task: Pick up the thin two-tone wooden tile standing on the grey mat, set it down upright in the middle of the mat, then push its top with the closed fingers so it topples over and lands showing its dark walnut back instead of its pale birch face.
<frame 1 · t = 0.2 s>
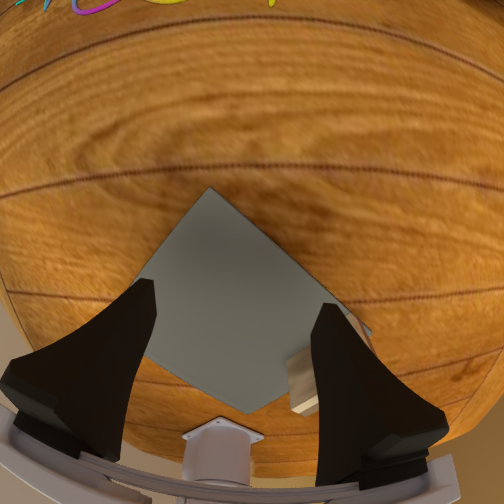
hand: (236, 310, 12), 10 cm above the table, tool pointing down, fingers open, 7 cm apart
mat: (233, 333, 25), on the table
tile: (323, 343, 25), resting on mat
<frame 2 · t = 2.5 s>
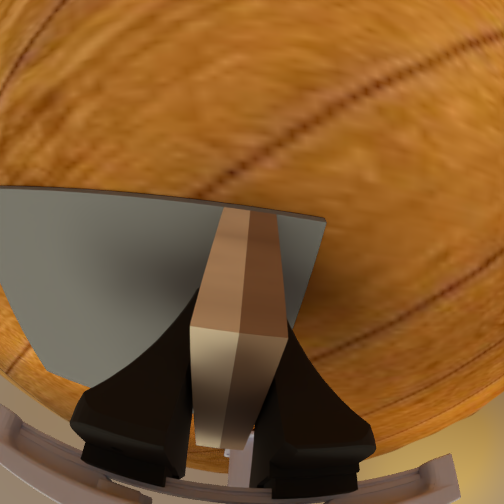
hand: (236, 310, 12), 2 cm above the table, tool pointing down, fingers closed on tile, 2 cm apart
mat: (117, 331, 15), on the table
tile: (238, 291, 13), resting on mat, touching gripper
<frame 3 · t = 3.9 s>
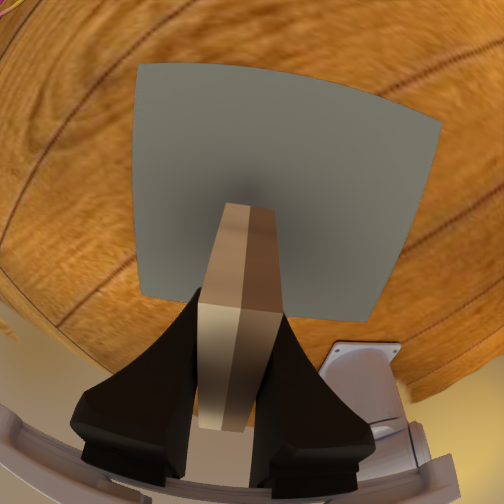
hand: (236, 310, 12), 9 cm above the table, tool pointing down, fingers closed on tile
mat: (278, 210, 19), on the table
tile: (238, 282, 14), point 7 cm above the table, touching gripper
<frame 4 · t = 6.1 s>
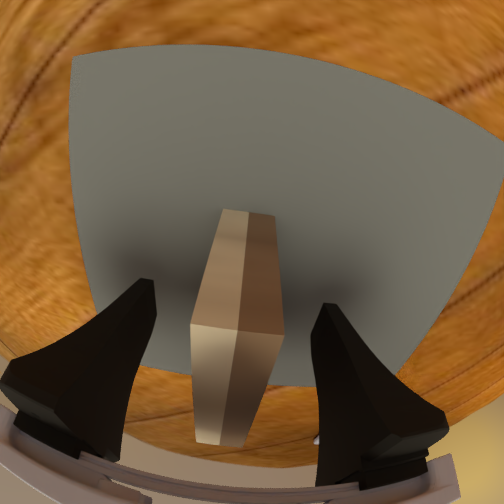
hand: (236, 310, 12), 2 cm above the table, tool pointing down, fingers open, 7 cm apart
mat: (285, 272, 13), on the table
tile: (237, 291, 13), resting on mat
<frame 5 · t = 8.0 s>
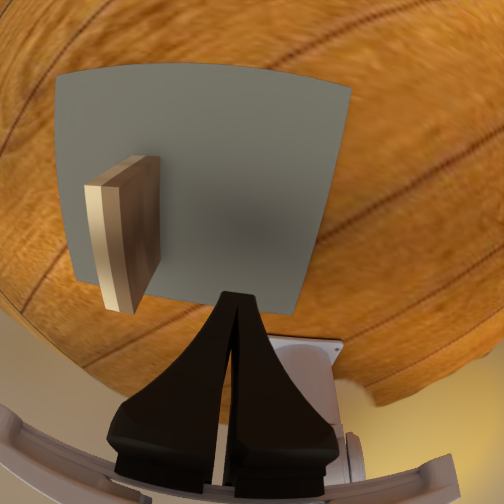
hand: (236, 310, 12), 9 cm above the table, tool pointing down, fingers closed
mat: (175, 196, 18), on the table
tile: (146, 211, 19), resting on mat
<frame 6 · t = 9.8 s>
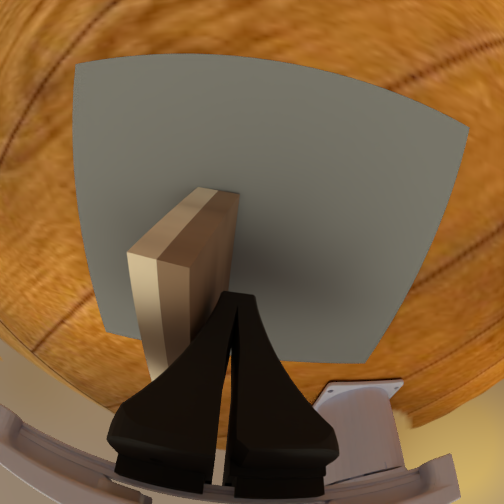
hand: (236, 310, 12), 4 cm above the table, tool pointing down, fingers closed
mat: (254, 243, 15), on the table
tile: (212, 263, 15), point 1 cm above the table, tilted 9°, touching gripper, mat
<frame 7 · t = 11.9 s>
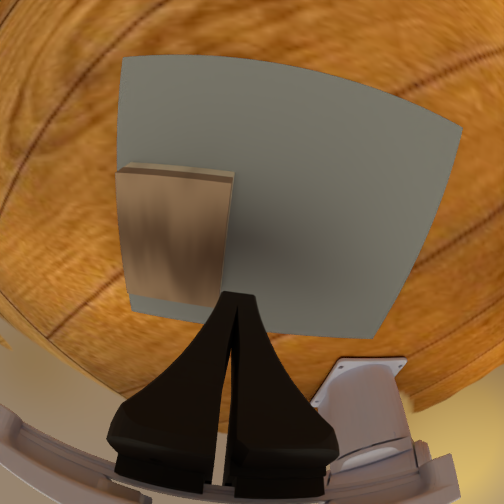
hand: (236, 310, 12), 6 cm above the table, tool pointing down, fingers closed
mat: (281, 223, 17), on the table
tile: (224, 245, 16), point 1 cm above the table, tilted 90°, touching mat
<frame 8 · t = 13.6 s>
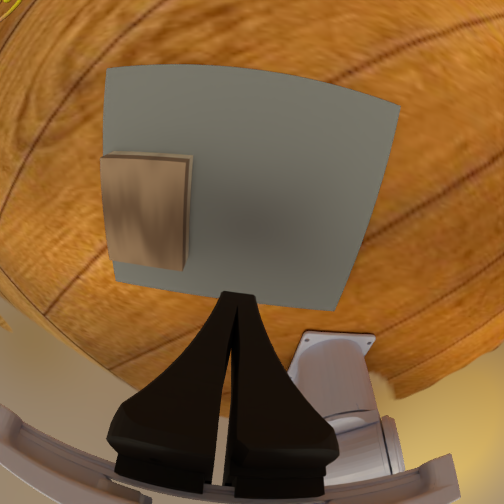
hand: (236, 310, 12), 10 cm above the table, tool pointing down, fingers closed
mat: (234, 198, 19), on the table
tile: (186, 215, 19), point 1 cm above the table, tilted 90°, touching mat
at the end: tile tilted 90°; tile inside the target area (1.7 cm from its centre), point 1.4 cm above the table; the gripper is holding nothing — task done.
